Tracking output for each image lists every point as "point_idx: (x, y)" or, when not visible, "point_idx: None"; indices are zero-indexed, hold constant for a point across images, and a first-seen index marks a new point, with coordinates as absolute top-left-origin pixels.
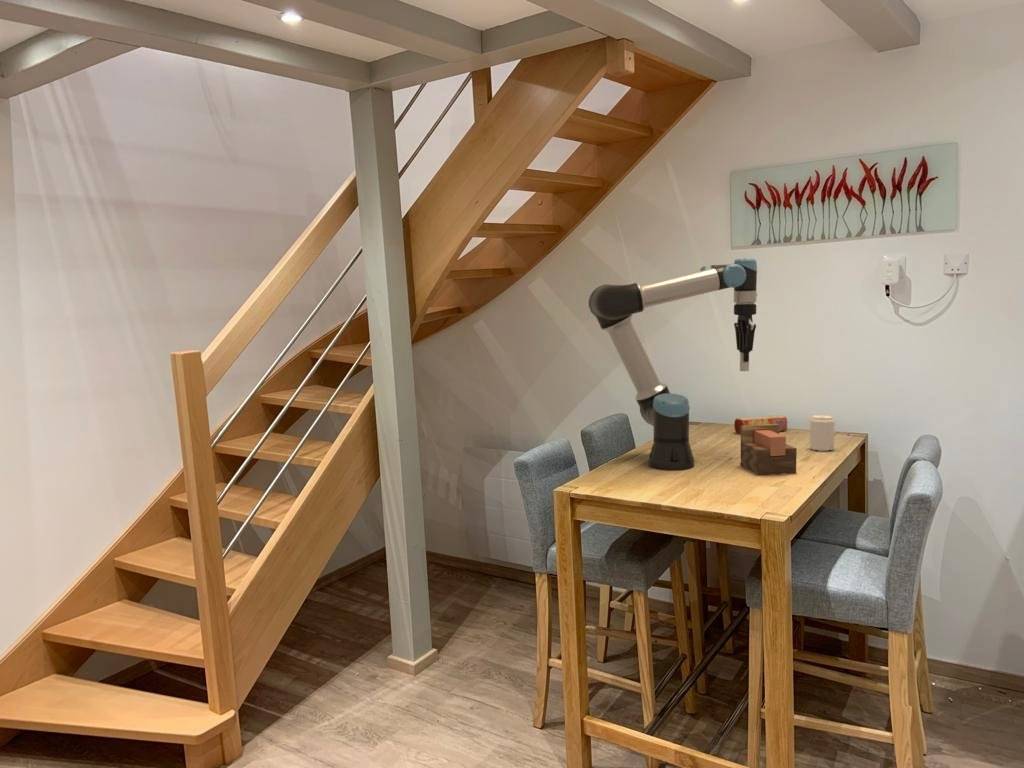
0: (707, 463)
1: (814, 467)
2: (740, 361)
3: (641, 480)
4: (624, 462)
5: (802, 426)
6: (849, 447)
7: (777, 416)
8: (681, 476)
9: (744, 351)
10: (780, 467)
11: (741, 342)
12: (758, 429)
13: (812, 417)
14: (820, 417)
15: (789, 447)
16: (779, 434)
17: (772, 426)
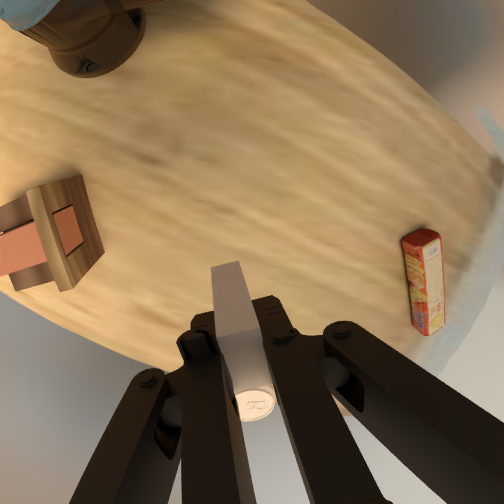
0: (105, 105)
1: (84, 314)
2: (236, 290)
3: None
4: None
5: (433, 349)
6: None
7: (433, 322)
8: (17, 63)
9: (187, 365)
10: None
11: (286, 413)
12: None
13: (248, 390)
14: (248, 402)
15: (19, 280)
16: (7, 271)
17: (53, 272)
